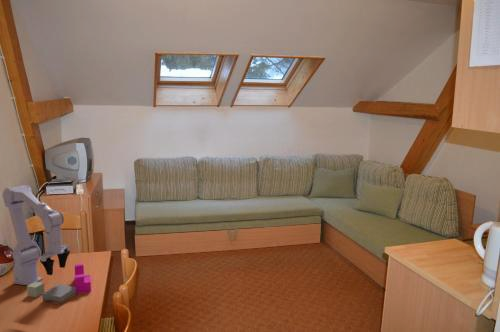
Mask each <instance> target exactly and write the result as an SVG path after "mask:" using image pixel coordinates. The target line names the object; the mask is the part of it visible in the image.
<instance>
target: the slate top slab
mask: <svg viewBox="0 0 500 332" xmlns="http://www.w3.org/2000/svg"><path fill="white" fill-rule="evenodd" d="M75 292H76V287H75V286H70V285H65V284H60V283H58V284H56V285H55V286H53V287H51V288H49V289H48V290H46V291H44V293H43V294H41V295H42V299H43V298H44V299H49V300H55V301H60V302H61V301H63V300H64V299H66V298H67V297H69V296H70V295H72V294H73V293H75Z"/></svg>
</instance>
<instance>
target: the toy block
mask: <svg viewBox="0 0 500 332" xmlns="http://www.w3.org/2000/svg"><path fill="white" fill-rule="evenodd" d="M84 266H85V265H84V263H79V264H78V263H77V264H74V287H76V295H78V294H83V293H88V292H89V293H90V292H92V282H91V274H86V275H85V269H84Z"/></svg>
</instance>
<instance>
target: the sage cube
mask: <svg viewBox="0 0 500 332" xmlns="http://www.w3.org/2000/svg"><path fill="white" fill-rule="evenodd" d="M26 290H27V292H26V293H27V296H28V297H32V298H38V297H40V296H41V295H42V294H43V293H44V292H45V283H44V282H40V281H38V282H34V283H32V284H30V285H26Z"/></svg>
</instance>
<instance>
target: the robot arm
mask: <svg viewBox="0 0 500 332" xmlns="http://www.w3.org/2000/svg"><path fill="white" fill-rule="evenodd" d="M2 198H3V203H4V205H5V208H8V212H9V216H10V220H11V223H12V226H13V230H14V234H15V239H16V241H17V244H16V245H15V246H14V247H13V249H12V253H13V261H14V263H15V264H14V266H13V279H14V280H13V282H12V283H13V284H16V285H17V284H18V285H22V286H23V285H24V286H28V285H30V284H32V283H34V282H40V281H41V280H42V279H43V277H41V276H39V270H38V262H40V263H41V264H42V266H43V267H44V270H45V272H46V275H48V276H52V275H53V273H54V272H53V271H54V269H53V268H54V263H55V259H52V258H53V257H54V256H56V255H57V259H58V265H59V268H62V269H65V268H66V265H67V264H66V263H67V261H68V260H67V259H68V257H69V255H70V253H71V251H70V250H69V249H70V245H69V244H63V237H62V225H63V224H64V221H65V218H64V215H63V213H62V212H61V211H59V210H58V211H57V210H53V209H52V208H51V207H50V206H49V205H48V204H47V203H46V202H40V201H39V199H38V198H37V197H36V196H35V195H34V194H33V190H32V187H30V185H29V184H24V185H18V186H13V187H6V188H4V190H3V192H2ZM24 204H26V205H28V206H30V207H31V208H32V209H33V213H34V215H36V216H37V217H38V218H39V219H40V220H41V223H42V225H43V228H44V232H45V233H46V247H47V249H46V252H45V253H43V254H42V251H41V248H40V247H39V246H38V245H39V244H38V243H37V242H36V241H33V240H31V236H30V232H29V229H28V225H27V222H26V217H25V214H24V211H23V206H24Z"/></svg>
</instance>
